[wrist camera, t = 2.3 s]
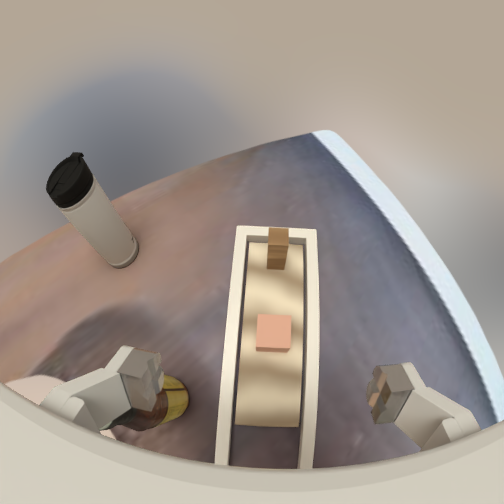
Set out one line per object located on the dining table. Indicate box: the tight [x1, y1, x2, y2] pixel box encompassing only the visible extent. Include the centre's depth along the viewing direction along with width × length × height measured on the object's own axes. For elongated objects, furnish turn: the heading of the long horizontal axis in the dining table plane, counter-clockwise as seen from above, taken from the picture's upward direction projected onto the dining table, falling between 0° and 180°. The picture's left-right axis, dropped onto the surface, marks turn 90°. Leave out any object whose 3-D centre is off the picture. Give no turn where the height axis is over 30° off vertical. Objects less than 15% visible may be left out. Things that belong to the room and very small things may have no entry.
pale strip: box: [235, 227, 303, 427], centre depth 33 cm, size 26×8×8 cm, turn 176°
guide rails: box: [215, 226, 319, 469], centre depth 34 cm, size 38×12×2 cm, turn 176°
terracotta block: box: [256, 314, 291, 353], centre depth 33 cm, size 4×4×4 cm
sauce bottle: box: [99, 375, 189, 431], centre depth 23 cm, size 7×6×20 cm
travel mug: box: [46, 152, 138, 268], centre depth 34 cm, size 6×7×20 cm
